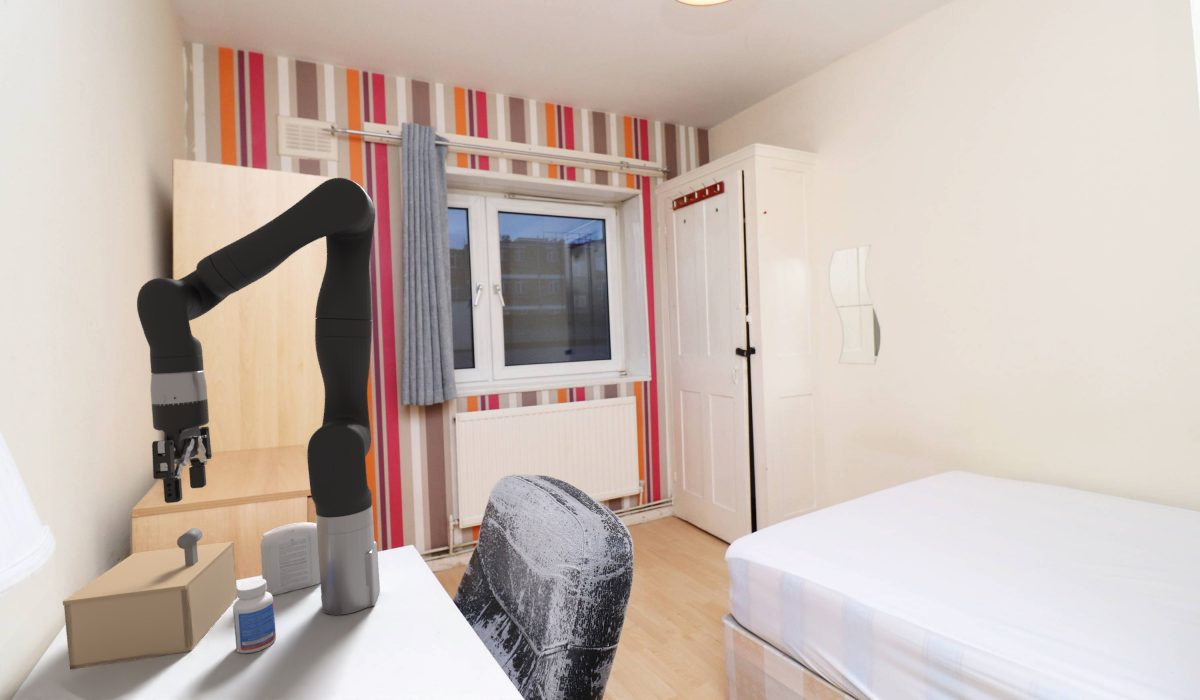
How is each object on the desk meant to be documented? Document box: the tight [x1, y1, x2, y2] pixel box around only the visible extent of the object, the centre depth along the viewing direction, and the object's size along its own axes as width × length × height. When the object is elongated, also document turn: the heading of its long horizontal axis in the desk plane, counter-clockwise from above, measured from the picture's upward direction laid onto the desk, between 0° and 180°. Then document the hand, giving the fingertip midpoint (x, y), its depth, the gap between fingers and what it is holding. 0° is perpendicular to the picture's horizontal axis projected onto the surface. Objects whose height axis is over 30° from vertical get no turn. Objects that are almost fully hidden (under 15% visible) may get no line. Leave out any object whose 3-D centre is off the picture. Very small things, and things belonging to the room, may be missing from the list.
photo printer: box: [260, 521, 321, 596], centre depth 108 cm, size 10×4×12 cm, turn 123°
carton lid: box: [62, 527, 235, 606], centre depth 94 cm, size 16×18×6 cm
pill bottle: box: [232, 578, 277, 654], centre depth 88 cm, size 6×5×10 cm
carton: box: [63, 544, 238, 670], centre depth 94 cm, size 16×18×10 cm
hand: (186, 494), depth 94 cm, fingers open, 8 cm apart
